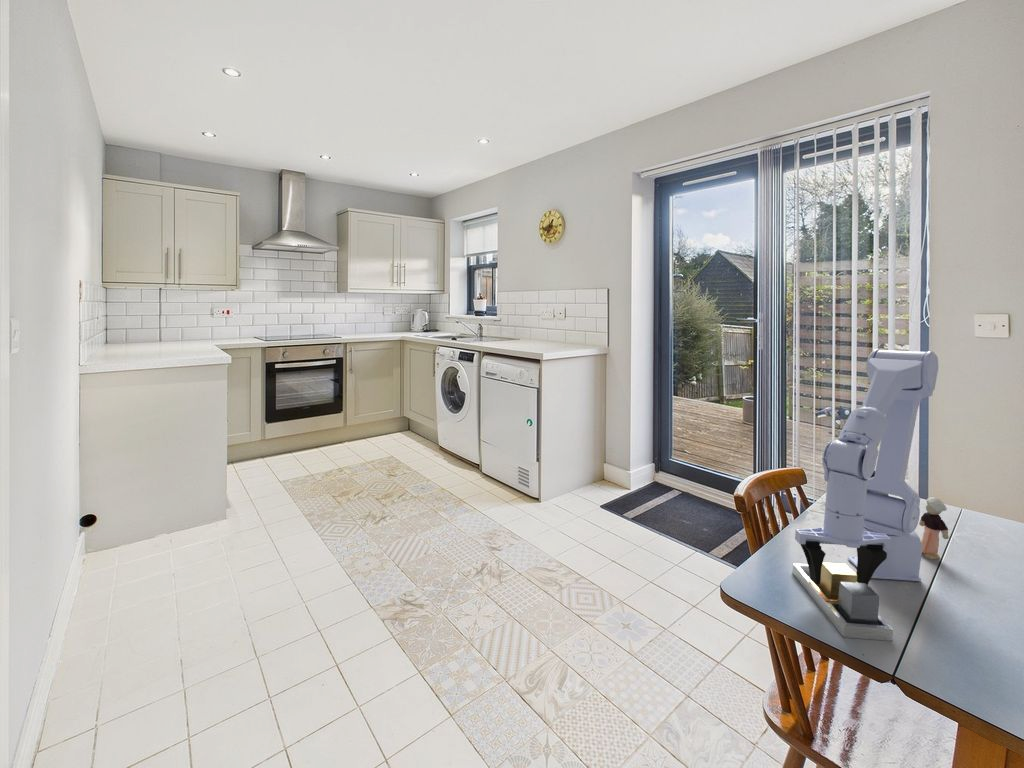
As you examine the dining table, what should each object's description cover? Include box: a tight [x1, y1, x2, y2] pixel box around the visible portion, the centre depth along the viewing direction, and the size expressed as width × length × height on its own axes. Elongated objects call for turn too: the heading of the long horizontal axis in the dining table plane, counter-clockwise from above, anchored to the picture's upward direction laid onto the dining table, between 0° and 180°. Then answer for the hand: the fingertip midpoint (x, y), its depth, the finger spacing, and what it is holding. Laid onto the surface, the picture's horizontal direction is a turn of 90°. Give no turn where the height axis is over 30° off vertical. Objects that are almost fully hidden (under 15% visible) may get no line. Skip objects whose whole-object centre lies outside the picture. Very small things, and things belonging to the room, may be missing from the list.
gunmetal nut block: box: [837, 582, 881, 625], centre depth 81 cm, size 4×4×6 cm
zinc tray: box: [791, 562, 894, 642], centre depth 88 cm, size 7×20×2 cm, turn 172°
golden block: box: [819, 561, 858, 600], centre depth 88 cm, size 4×4×6 cm
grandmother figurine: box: [918, 496, 950, 560], centre depth 104 cm, size 8×4×13 cm, turn 5°
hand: (838, 583), depth 87 cm, fingers open, 7 cm apart
